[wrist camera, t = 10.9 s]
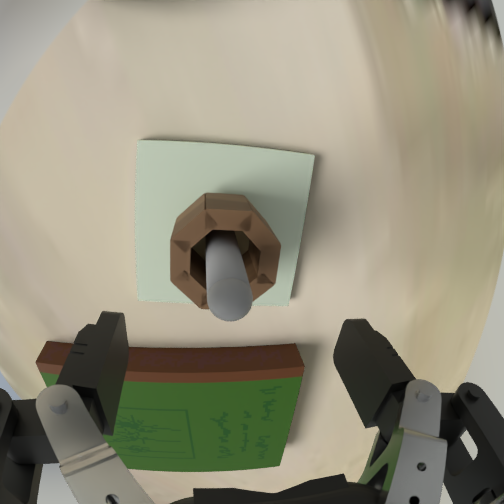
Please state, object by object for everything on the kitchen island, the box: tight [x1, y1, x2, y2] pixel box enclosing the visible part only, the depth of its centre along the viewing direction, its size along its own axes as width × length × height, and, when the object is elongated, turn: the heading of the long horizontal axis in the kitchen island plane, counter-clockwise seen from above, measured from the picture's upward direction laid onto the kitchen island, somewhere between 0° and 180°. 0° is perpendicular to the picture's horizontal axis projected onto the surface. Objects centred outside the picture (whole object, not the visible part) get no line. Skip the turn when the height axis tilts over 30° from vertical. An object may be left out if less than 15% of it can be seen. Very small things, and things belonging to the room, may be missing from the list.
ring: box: [170, 193, 281, 309], centre depth 19 cm, size 6×6×4 cm
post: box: [135, 140, 315, 321], centre depth 18 cm, size 12×12×11 cm
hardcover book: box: [36, 341, 305, 472], centre depth 29 cm, size 25×19×4 cm
